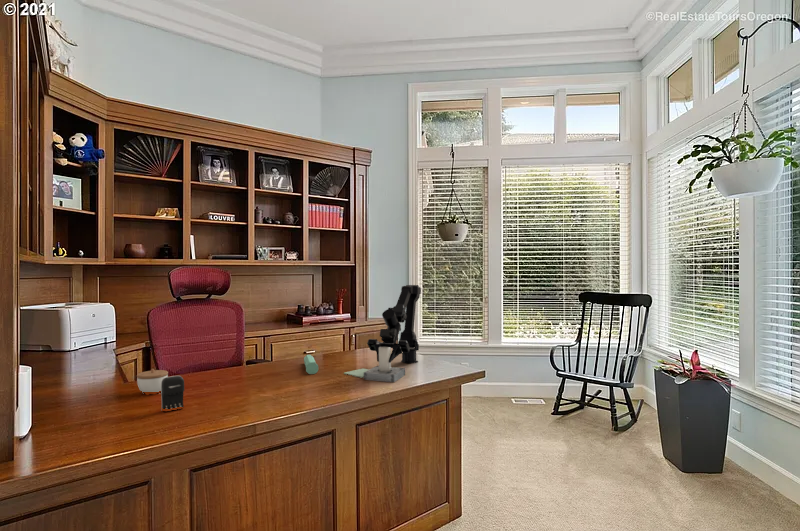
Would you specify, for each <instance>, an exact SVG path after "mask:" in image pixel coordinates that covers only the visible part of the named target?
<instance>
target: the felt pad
mask: <svg viewBox="0 0 800 531" xmlns="http://www.w3.org/2000/svg"><path fill="white" fill-rule="evenodd" d="M368 370H370V369H367V368H358V369H355V370H350V371H346V372H343V374H344V375H347V374H348V375H347V376H351V375H352V377H355V378H360V379H361V378H362V379H364V372H366V371H368Z"/></svg>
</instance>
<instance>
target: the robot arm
mask: <svg viewBox="0 0 800 531" xmlns="http://www.w3.org/2000/svg"><path fill="white" fill-rule="evenodd" d="M400 290H401V292H400V293H399V297H398V299H397V302H396V305H395V306H393V307H388V309H386V310H384V311H383V312H382V313H381V316H382V318H383V321H384V323H385V325H386V326H387V328H380V330H379V331H380V332H379V337H380V338H381V341H379V340H378V339H376V338H369V339H368V340H367V342H366V344H367V346H368V348H369V350H370V351H372V352H373V351H374V352H376V360H377V363H379V347H391V349H392V350H391V356H390V359H389V363H390V362H391V363H392V362H393V361H394V360H395V359H396V358H397V357H398V356H399V355H401V360H400V362H402V363H406V364H415V363H419V361H418V360H417V351H419V349H420V344H419V341H418V339H417V334H416V333H415V330H414V329H415V318H416V306H417V302H418V301H419V299H420V296H421V293H422V289H421V286H419V285H418V284H417V285H416V284H406V285H403V286H401V289H400ZM401 323H404V329H403V330H402V325H401ZM399 334H400V337H399ZM397 341H398V343H397ZM414 362H415V363H414Z"/></svg>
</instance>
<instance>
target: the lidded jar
mask: <svg viewBox="0 0 800 531" xmlns="http://www.w3.org/2000/svg"><path fill="white" fill-rule="evenodd" d="M165 377H169V371H167V370H166V369H165V370H164V369H156V370H155V369H154V368H151V369H150V370H147V371H141V372H139V373H137V375H136V384H137V386H138V389H139V391H140V392H141V391H142V393H143V392H159V391H161V381H162V379H163V378H165Z"/></svg>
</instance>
